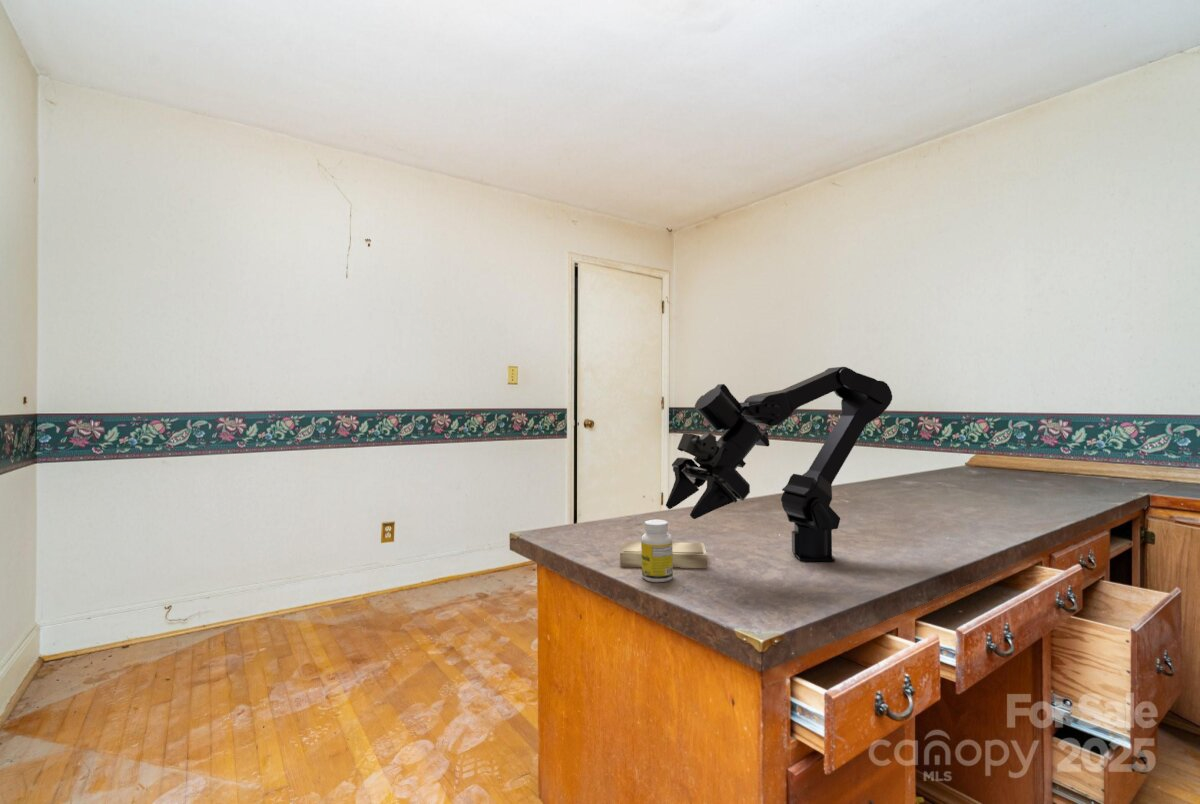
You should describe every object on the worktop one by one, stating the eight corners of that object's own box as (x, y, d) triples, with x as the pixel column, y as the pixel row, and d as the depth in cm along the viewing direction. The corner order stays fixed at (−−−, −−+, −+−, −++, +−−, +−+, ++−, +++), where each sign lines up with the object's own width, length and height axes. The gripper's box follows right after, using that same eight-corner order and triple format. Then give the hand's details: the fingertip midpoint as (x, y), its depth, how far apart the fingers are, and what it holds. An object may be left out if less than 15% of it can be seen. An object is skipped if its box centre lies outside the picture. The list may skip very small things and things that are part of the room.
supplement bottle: (639, 573, 97) (638, 519, 97) (669, 572, 97) (668, 518, 97) (644, 583, 92) (643, 525, 92) (676, 582, 92) (675, 524, 92)
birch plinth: (703, 555, 107) (703, 542, 107) (707, 568, 99) (706, 553, 99) (623, 554, 109) (623, 540, 109) (620, 566, 101) (620, 552, 101)
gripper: (680, 416, 107) (629, 475, 103) (733, 418, 89) (674, 490, 85) (715, 454, 109) (666, 513, 105) (774, 464, 91) (718, 535, 88)
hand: (679, 512), depth 96 cm, fingers open, 9 cm apart
